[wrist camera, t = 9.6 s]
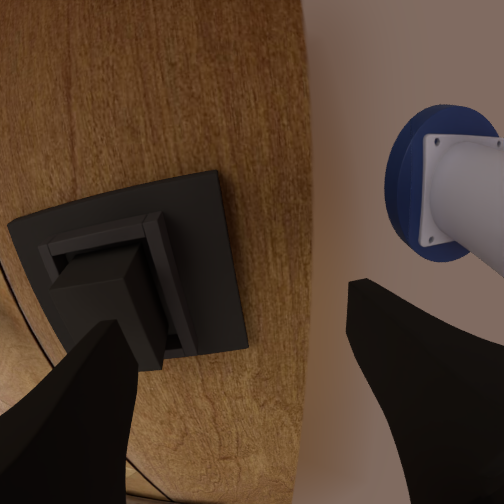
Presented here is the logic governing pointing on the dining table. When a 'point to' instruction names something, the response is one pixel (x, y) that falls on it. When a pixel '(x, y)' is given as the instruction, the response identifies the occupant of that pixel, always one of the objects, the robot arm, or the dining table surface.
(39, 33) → the dining table surface
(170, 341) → the base pad
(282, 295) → the dining table surface
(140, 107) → the dining table surface
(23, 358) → the dining table surface
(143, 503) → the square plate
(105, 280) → the small block
